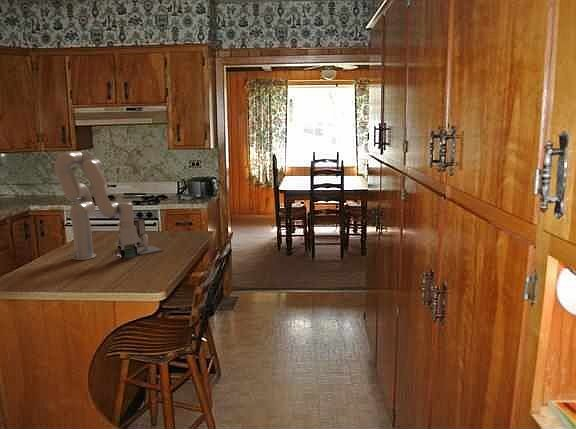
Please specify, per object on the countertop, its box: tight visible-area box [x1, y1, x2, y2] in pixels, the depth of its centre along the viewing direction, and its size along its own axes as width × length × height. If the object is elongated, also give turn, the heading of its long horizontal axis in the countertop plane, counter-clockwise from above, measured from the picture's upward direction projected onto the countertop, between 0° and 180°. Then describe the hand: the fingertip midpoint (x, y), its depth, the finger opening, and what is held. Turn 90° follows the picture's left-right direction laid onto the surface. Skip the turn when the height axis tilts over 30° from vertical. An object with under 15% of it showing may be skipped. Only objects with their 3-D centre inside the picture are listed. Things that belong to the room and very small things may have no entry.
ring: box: [122, 247, 137, 259], centre depth 280 cm, size 7×7×4 cm
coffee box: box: [129, 218, 146, 247], centre depth 309 cm, size 9×6×16 cm
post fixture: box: [136, 233, 164, 256], centre depth 292 cm, size 14×14×10 cm
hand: (129, 254), depth 281 cm, fingers closed on ring, 6 cm apart
